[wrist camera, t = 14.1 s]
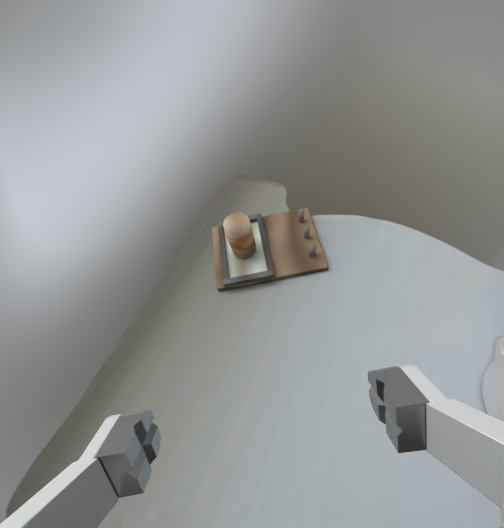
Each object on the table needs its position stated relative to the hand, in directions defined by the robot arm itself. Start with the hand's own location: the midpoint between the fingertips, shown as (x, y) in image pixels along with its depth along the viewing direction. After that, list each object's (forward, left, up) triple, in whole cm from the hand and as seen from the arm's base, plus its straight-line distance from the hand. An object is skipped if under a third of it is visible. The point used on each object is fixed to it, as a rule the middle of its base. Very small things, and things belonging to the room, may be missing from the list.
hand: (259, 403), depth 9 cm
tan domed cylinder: (+2, -25, -28) cm, 38 cm away
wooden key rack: (-2, -25, -29) cm, 39 cm away
